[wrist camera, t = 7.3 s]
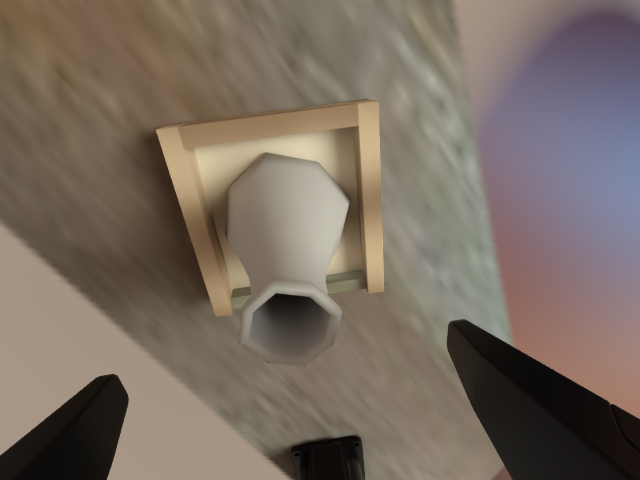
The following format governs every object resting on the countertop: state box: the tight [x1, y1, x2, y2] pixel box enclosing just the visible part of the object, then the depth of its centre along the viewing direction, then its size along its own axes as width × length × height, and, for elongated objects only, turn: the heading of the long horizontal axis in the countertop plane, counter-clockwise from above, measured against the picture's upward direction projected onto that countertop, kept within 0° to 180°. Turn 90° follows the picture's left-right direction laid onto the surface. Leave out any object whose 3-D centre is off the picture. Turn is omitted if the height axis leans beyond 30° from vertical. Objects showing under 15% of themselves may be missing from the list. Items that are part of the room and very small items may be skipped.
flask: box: [225, 152, 351, 366], centre depth 15 cm, size 7×7×10 cm
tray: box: [156, 99, 384, 317], centre depth 19 cm, size 11×10×2 cm
